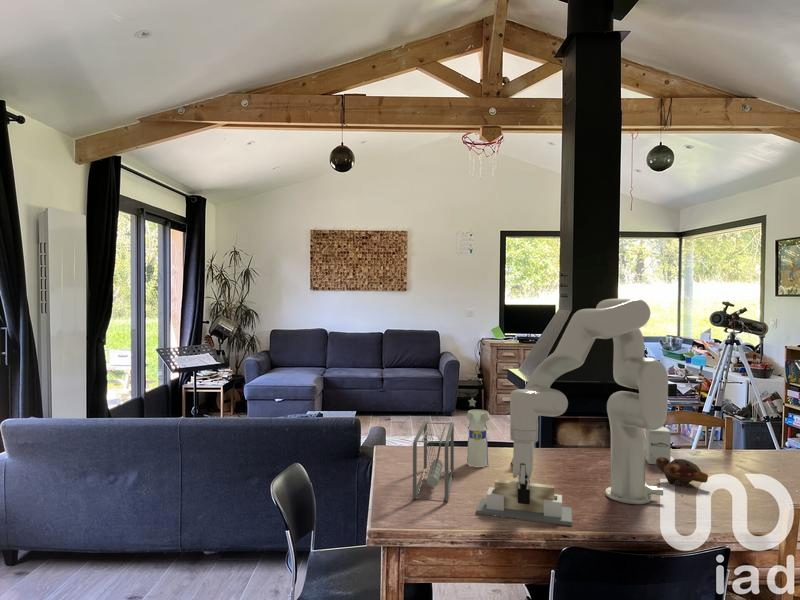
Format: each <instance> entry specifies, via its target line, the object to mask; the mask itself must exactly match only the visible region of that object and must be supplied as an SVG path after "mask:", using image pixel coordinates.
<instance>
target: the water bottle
mask: <svg viewBox="0 0 800 600" xmlns="http://www.w3.org/2000/svg"><path fill="white" fill-rule="evenodd" d="M467 401H468V402H469V407H474V408H475V407H476V405H475V404H476V402H477V401H476V400H474V398H473V397H471V399H468V400H467ZM466 418H467V419H468V421H469V424H468V426H467V428H468V439H467V458H466V464H467V463H468V464H470V465H473V466H486V465H488V466H489V453H488V452H489V450H488V447H489V446H488V438H487V430H488V427H487V423H486V422H487V421H489V420H490V418H491V415H490V413H489V411H488V410H485V409H470V410H468V411H467V414H466Z"/></svg>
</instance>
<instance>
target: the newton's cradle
mask: <svg viewBox="0 0 800 600" xmlns="http://www.w3.org/2000/svg"><path fill="white" fill-rule="evenodd" d="M433 424H435V425H445V426H444V427H443V428H442V429H440V428H438V426H435V425H433ZM431 425H433V426H431ZM448 425H449V428H448V430H447V434H446V437H445V441H443V438H444V435H445V431H446V428H447V426H448ZM431 427H435V428H437V430H439V431H440V430H442V432H441V434H440V438H439V441H438V440H436V441H434V440H433V439H434V438H432V437H433V434H432V433H431V432H432V428H431ZM454 431H455V426H454V422H453V421H452V422H431V421H430V422H428V421H426V420H423V422H422V424H421V425H420V428H419V430H418V431H417V433H416V436H415V437H414V439H413V442H412V499H413V498H414V499H416V498H417V496H418V497H419V494H418V492H419V493H420V491H419V489H420V490H421V488H420V485H421V482H422V478H423V476H422V477H421V476H420V478H421V479H419V481H420V482H419V481H417V478H418V477H417V473H418V470H417V468H418V464H417V462H418V461H417V460H418V459H417V457H418V455H417V454H418V452H417V451H418V450H417V448H418V443H423V469H426V468H427V469H428V464H429V465H430V466H429V470H428V471H429V472H428V474H427V478H426V484H427V485H428V486H429V487H433V488H435V487H436V486H438V485H439V482H440V479H441V477H440V476H441V474H442V473H441V471H443V467H444V471H445V473H444V498H442V497H439V498H440V499H445V500H444V501H445V502H446V501H448V500H449V501H450V495H451V490H450V488H451V489H452V484H451V482H452V481H453V478H452V475H453V476H454V472H453V471H454V470H455V469H454V467H455V466H454V463H455V460H454V459H455V458H454V457H455V454H454V453H455V448H454V447H455V446H454V445H455V443H454V441H455V439H454V438H455V436H454V435H455V432H454ZM422 434H423V437H422V439H421V440H419V439H420V438H421V435H422ZM434 443H437V444H438V450H437V455H436V454H435V453H436V452H435V449H434V448H435V447H434ZM442 444H444V463H443V462H442V460H440V459H439V458H440V453H441V447H442ZM449 445H450V446H449ZM449 447H450V462H449ZM428 449H429V450H428ZM443 464H444V466H443ZM449 465H450V468H449ZM449 470H451V472H450V471H449ZM448 472H450V473H448ZM449 476H450V477H449ZM417 482H418V483H419V484H418V483H417ZM417 486H418V487H417ZM449 494H450V495H449ZM428 498H430V497H429V496H428ZM414 499H413V500H414ZM417 499H418V498H417ZM417 499H416V500H417ZM449 501H448V502H449Z"/></svg>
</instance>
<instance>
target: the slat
mask: <svg viewBox="0 0 800 600" xmlns="http://www.w3.org/2000/svg"><path fill="white" fill-rule="evenodd" d="M494 488H495V494H503V495H504V508H506V509H514V510H523V511H531V512H539V513H544V499H548V500H554V494H555V485H554V484H545V483H537V482H536V483H533V482H530V483H529V489H530V504H529V505H528V504H519V503H518V481H515V480H505V479H495V480H494Z"/></svg>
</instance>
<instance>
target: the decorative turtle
mask: <svg viewBox="0 0 800 600" xmlns="http://www.w3.org/2000/svg"><path fill="white" fill-rule="evenodd" d="M670 461H671V462H669V460H668V458H665V457H659V458H657V460H656V464H655V465H656V466H657V467H658V469H659V470H660V471H661V472H662V473H663V474H664V476H665V478H666V481H667V483H669V484H670V485H673V484H675V483H676V482H679V483H680V484H681V485H682V486H683V487H684V488H686V487H688V486H689V485H690V483H691V482H693V481H694V482H699V483H707V482H708V479H709V475H708V474H707V473H705V472H703V471H702V470H701V469H700V467H699V466H698V465H697V464H696V463H694V462H692V461H690V460H688V459H687V460H686V459H682V458H675V459H673V460H670Z"/></svg>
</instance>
